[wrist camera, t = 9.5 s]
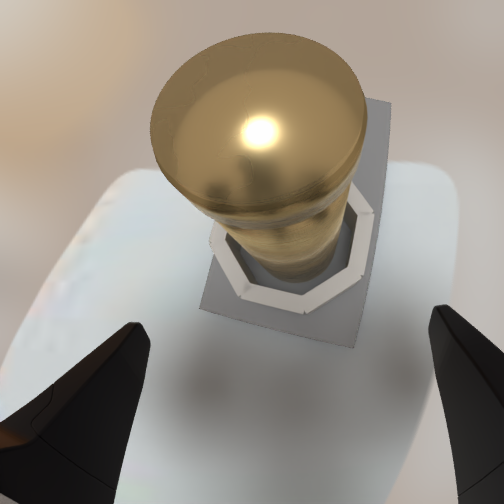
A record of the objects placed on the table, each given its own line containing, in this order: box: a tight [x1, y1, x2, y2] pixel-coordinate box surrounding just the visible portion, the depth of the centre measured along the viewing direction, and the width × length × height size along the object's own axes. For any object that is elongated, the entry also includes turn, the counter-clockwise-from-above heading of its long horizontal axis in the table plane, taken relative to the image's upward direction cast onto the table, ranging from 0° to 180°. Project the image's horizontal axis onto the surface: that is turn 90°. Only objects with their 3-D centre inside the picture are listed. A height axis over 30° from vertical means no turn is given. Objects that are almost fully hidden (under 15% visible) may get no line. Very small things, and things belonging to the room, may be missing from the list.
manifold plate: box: [199, 98, 391, 348], centre depth 17 cm, size 16×9×4 cm, turn 165°
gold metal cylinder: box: [150, 33, 368, 283], centre depth 12 cm, size 5×5×12 cm
